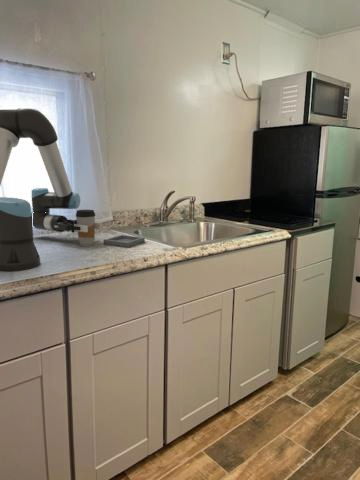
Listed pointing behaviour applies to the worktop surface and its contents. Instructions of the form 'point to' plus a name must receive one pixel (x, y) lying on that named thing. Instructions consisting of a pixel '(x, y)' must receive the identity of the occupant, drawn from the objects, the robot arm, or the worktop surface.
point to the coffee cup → (88, 220)
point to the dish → (124, 241)
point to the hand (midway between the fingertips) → (94, 227)
